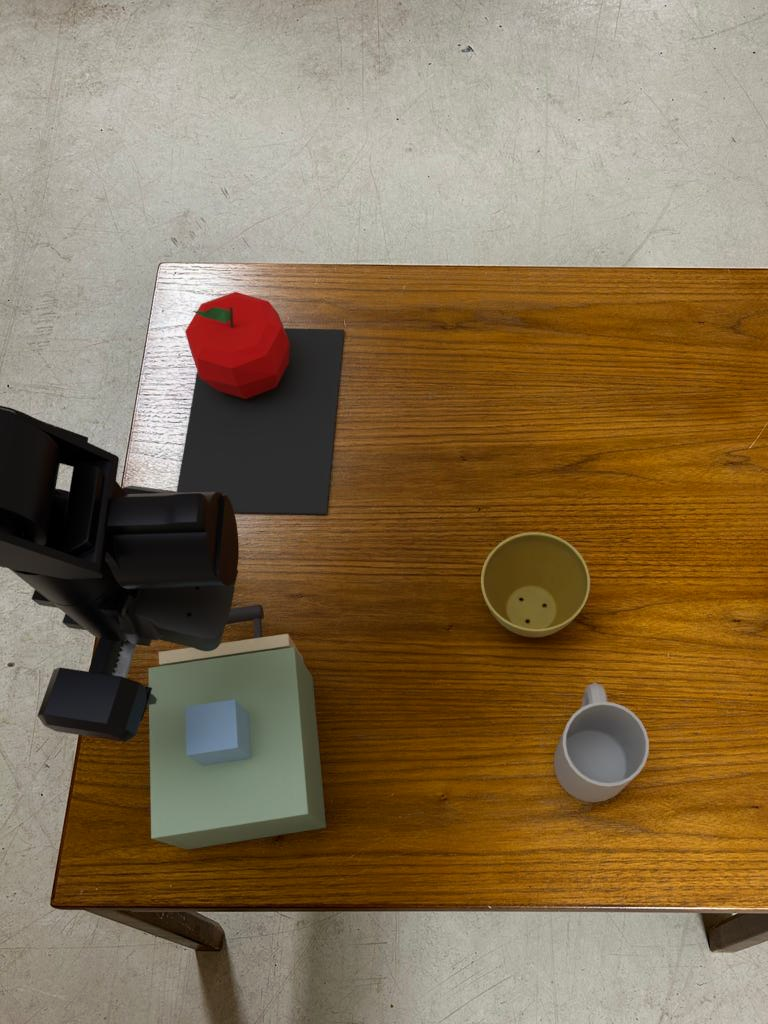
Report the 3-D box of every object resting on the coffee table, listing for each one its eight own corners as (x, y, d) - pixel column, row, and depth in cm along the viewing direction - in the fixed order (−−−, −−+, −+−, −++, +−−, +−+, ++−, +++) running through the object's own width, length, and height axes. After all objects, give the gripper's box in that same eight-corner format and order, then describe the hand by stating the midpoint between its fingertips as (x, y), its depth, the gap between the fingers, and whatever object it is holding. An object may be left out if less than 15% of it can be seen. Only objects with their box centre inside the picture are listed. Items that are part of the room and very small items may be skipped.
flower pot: (469, 576, 82) (469, 544, 75) (564, 555, 83) (572, 521, 76) (494, 667, 79) (496, 642, 72) (592, 643, 80) (604, 616, 73)
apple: (298, 332, 92) (278, 263, 83) (297, 409, 88) (276, 347, 79) (205, 336, 92) (174, 267, 82) (199, 414, 88) (167, 351, 79)
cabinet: (181, 695, 77) (148, 667, 69) (312, 676, 78) (294, 646, 70) (186, 849, 72) (150, 838, 64) (326, 827, 73) (308, 814, 65)
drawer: (183, 634, 79) (157, 607, 72) (299, 617, 79) (284, 589, 73) (189, 816, 73) (161, 804, 66) (315, 796, 73) (300, 783, 67)
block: (202, 765, 66) (186, 755, 63) (200, 719, 68) (184, 706, 64) (251, 758, 67) (237, 747, 63) (248, 712, 68) (235, 699, 64)
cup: (555, 805, 74) (565, 788, 66) (548, 700, 78) (557, 671, 69) (633, 802, 74) (653, 784, 66) (622, 698, 78) (640, 669, 69)
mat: (174, 512, 84) (173, 510, 84) (205, 328, 93) (204, 326, 92) (327, 515, 84) (326, 513, 84) (344, 331, 93) (343, 329, 92)
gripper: (159, 724, 48) (233, 774, 62) (238, 457, 54) (289, 559, 69) (-21, 696, 48) (94, 752, 63) (79, 435, 55) (163, 541, 69)
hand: (166, 647), depth 66 cm, fingers open, 9 cm apart
